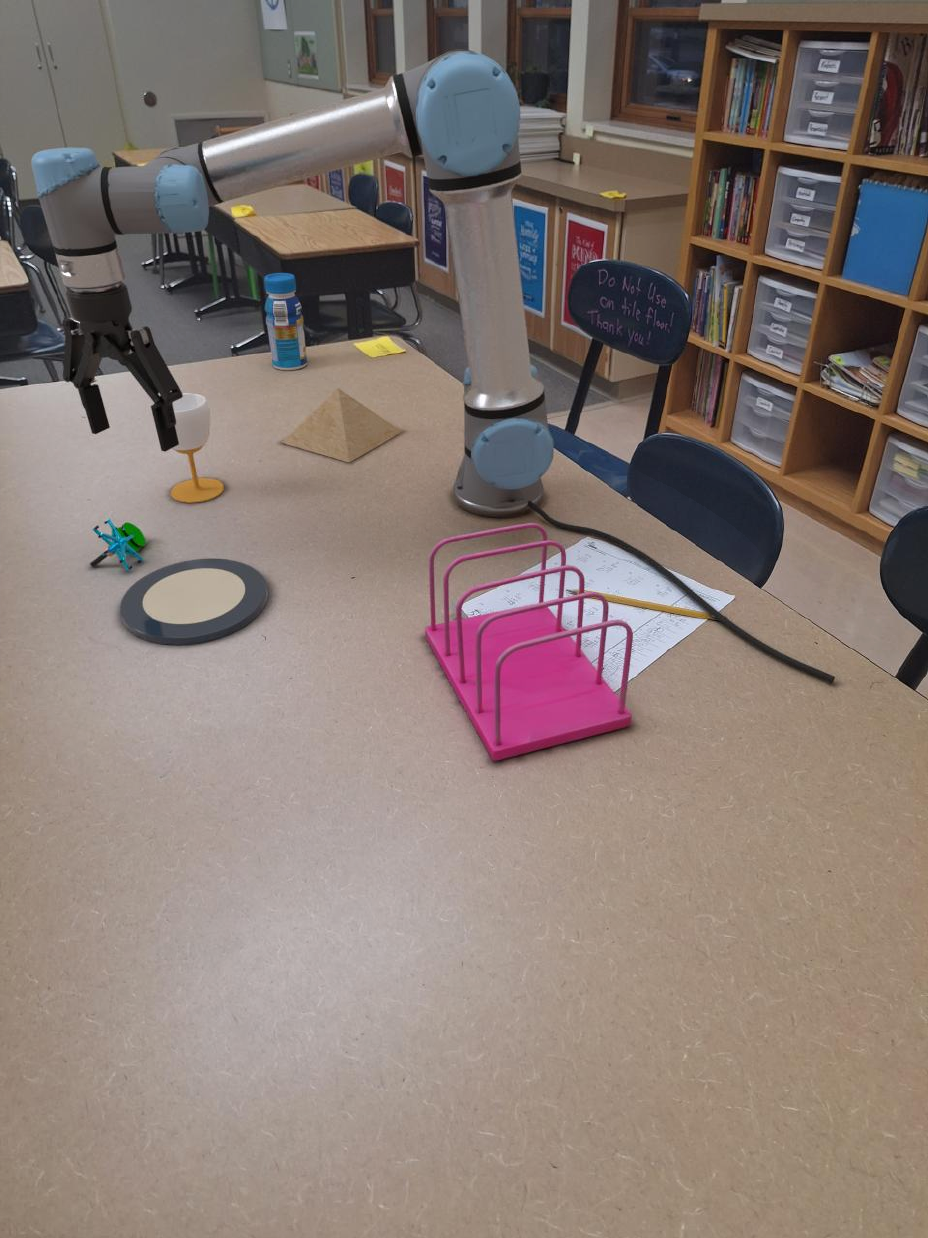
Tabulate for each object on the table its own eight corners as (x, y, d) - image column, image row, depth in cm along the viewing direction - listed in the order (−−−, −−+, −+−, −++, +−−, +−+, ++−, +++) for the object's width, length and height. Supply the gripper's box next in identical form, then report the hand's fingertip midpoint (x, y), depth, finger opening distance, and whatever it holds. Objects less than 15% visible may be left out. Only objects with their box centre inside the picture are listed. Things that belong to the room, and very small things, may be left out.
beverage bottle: (264, 366, 201) (252, 276, 190) (292, 356, 207) (281, 269, 195) (288, 374, 197) (276, 283, 185) (315, 364, 202) (306, 275, 191)
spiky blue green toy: (133, 566, 125) (96, 523, 123) (98, 593, 126) (61, 551, 125) (162, 546, 136) (129, 506, 134) (130, 570, 138) (96, 532, 136)
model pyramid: (404, 430, 170) (402, 381, 165) (349, 463, 159) (344, 411, 153) (338, 413, 178) (334, 366, 172) (281, 443, 166) (274, 393, 160)
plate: (296, 586, 125) (295, 579, 124) (199, 662, 111) (198, 654, 110) (193, 552, 133) (191, 545, 132) (90, 618, 119) (88, 611, 118)
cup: (159, 497, 148) (138, 408, 138) (192, 475, 154) (174, 389, 145) (203, 506, 145) (185, 416, 136) (234, 484, 152) (219, 396, 142)
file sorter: (492, 764, 96) (495, 652, 86) (424, 637, 115) (420, 535, 106) (631, 727, 100) (647, 617, 91) (543, 611, 120) (549, 511, 110)
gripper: (5, 281, 113) (53, 432, 126) (144, 303, 103) (181, 465, 116) (52, 268, 119) (93, 414, 131) (188, 288, 109) (219, 444, 121)
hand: (135, 439), depth 123 cm, fingers open, 13 cm apart
